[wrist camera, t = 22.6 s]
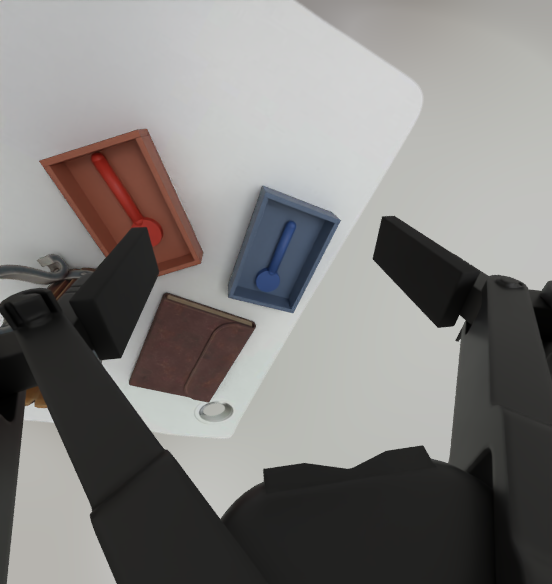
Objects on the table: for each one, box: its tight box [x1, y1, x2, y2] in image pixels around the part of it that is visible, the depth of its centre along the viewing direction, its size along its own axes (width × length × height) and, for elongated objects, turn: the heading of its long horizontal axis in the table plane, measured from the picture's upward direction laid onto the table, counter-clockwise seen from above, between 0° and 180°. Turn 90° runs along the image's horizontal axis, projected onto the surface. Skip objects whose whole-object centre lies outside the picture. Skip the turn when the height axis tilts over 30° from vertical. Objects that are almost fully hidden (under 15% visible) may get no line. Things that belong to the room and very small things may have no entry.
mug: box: [0, 254, 102, 408], centre depth 31 cm, size 16×11×15 cm
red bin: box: [39, 129, 203, 276], centre depth 32 cm, size 15×10×4 cm
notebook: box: [129, 293, 256, 402], centre depth 46 cm, size 15×20×2 cm
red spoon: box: [91, 153, 163, 247], centre depth 32 cm, size 11×4×1 cm, turn 19°
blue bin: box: [228, 186, 341, 313], centre depth 37 cm, size 15×10×4 cm
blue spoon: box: [255, 221, 296, 292], centre depth 38 cm, size 11×4×1 cm, turn 158°
